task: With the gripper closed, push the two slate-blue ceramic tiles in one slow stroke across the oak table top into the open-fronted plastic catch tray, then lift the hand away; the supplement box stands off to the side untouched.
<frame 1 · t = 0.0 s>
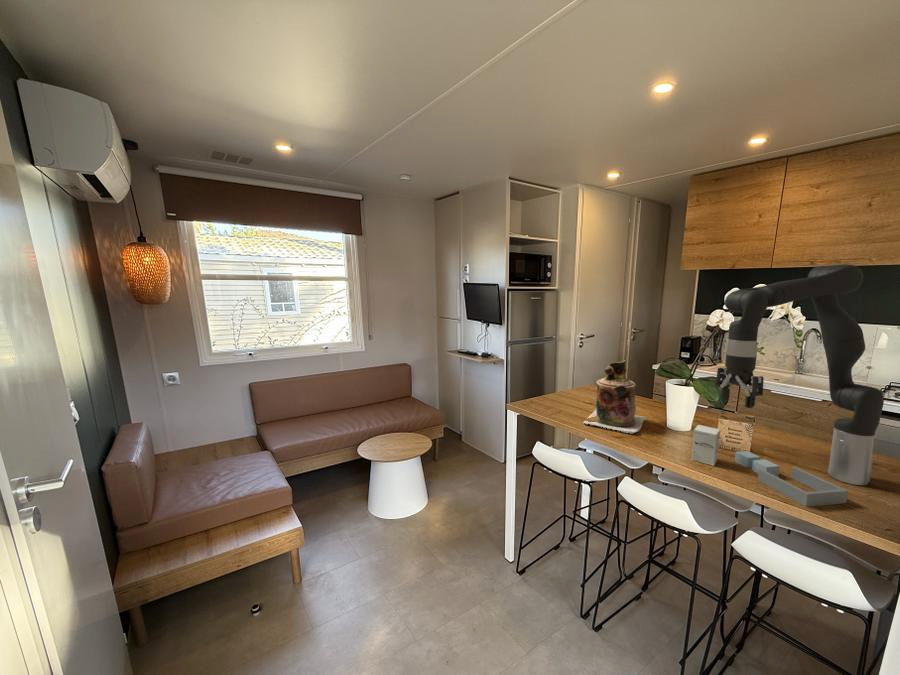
hand: (736, 403, 115), 29 cm above the breakfast bar, fingers open, 8 cm apart
tile 1: (746, 464, 135), on the breakfast bar
catch tray: (797, 490, 117), on the breakfast bar
supplement box: (704, 460, 138), on the breakfast bar
tile 2: (764, 473, 128), on the breakfast bar
cookie jar: (614, 423, 179), on the breakfast bar
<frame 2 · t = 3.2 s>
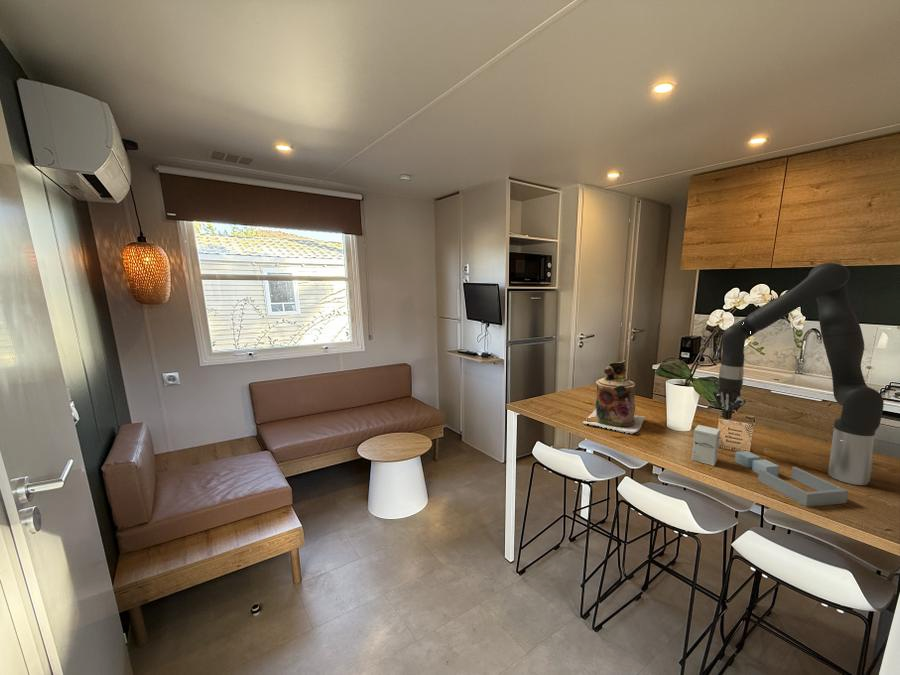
hand: (726, 418, 143), 14 cm above the breakfast bar, fingers closed
nothing on the breakfast bar moved.
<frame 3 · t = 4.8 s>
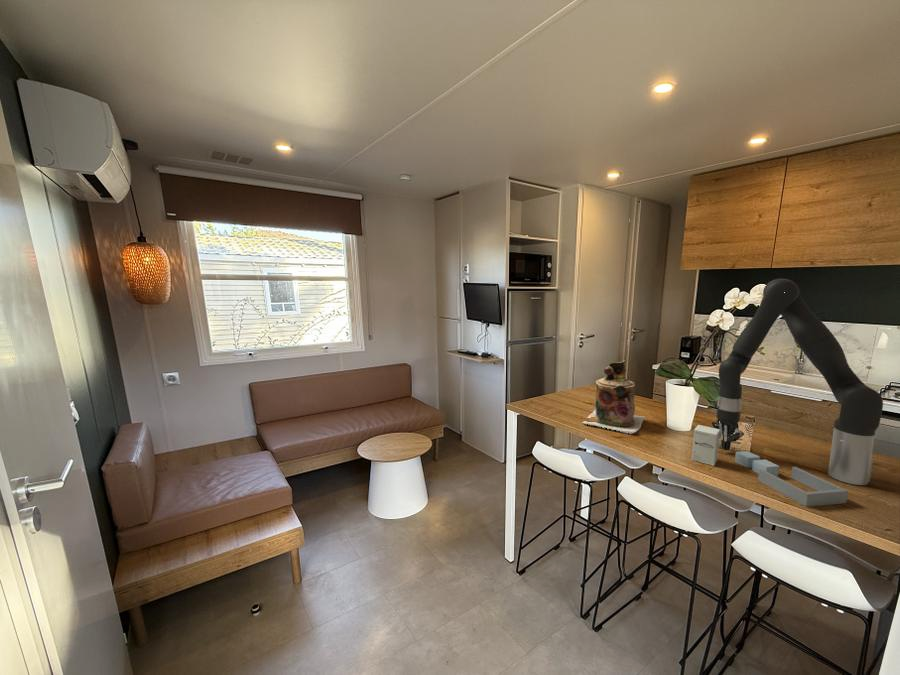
hand: (725, 449, 144), 1 cm above the breakfast bar, fingers closed
nothing on the breakfast bar moved.
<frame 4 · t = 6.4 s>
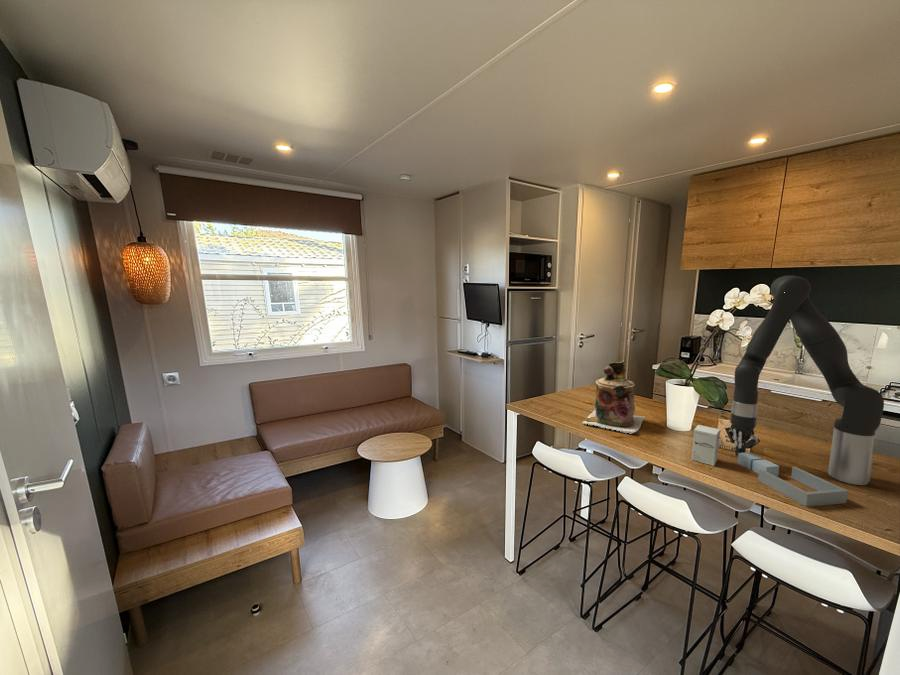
hand: (739, 456, 138), 1 cm above the breakfast bar, fingers closed
tile 1: (749, 465, 133), on the breakfast bar, touching gripper
everything else where it was.
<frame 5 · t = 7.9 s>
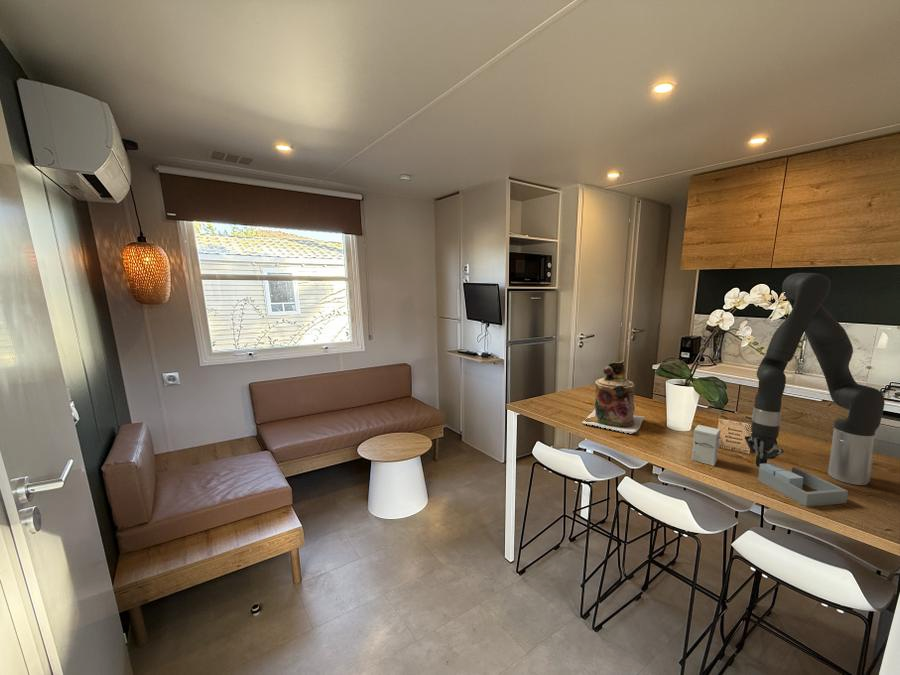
hand: (760, 467, 129), 2 cm above the breakfast bar, fingers closed
tile 1: (771, 477, 125), on the breakfast bar, touching gripper
tile 2: (787, 485, 120), on the breakfast bar
everything else where it was.
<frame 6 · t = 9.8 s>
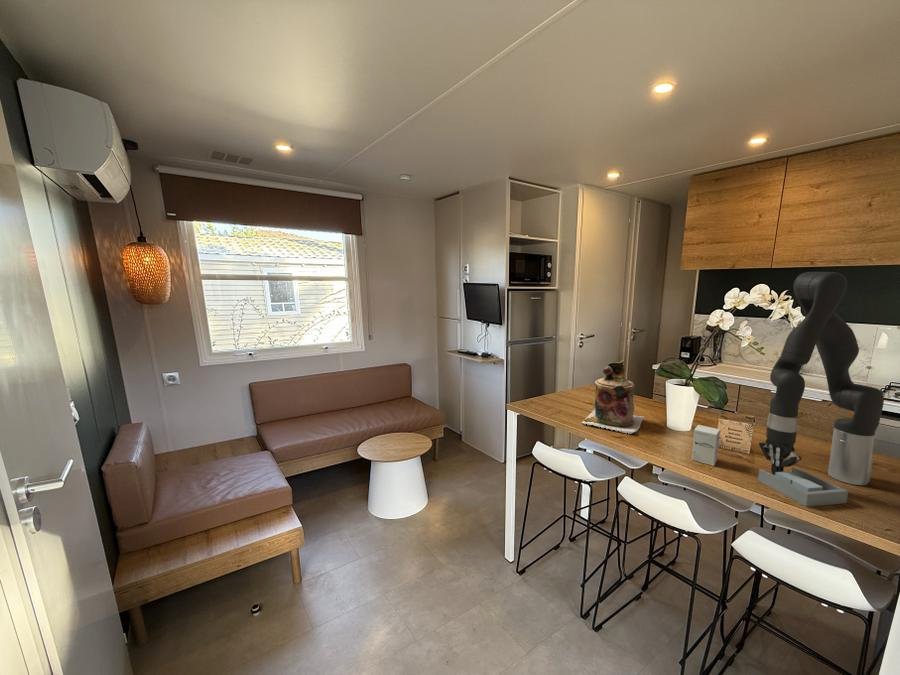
hand: (776, 474, 124), 2 cm above the breakfast bar, fingers closed
tile 1: (788, 486, 119), on the breakfast bar
tile 2: (805, 494, 115), on the breakfast bar
everything else where it was.
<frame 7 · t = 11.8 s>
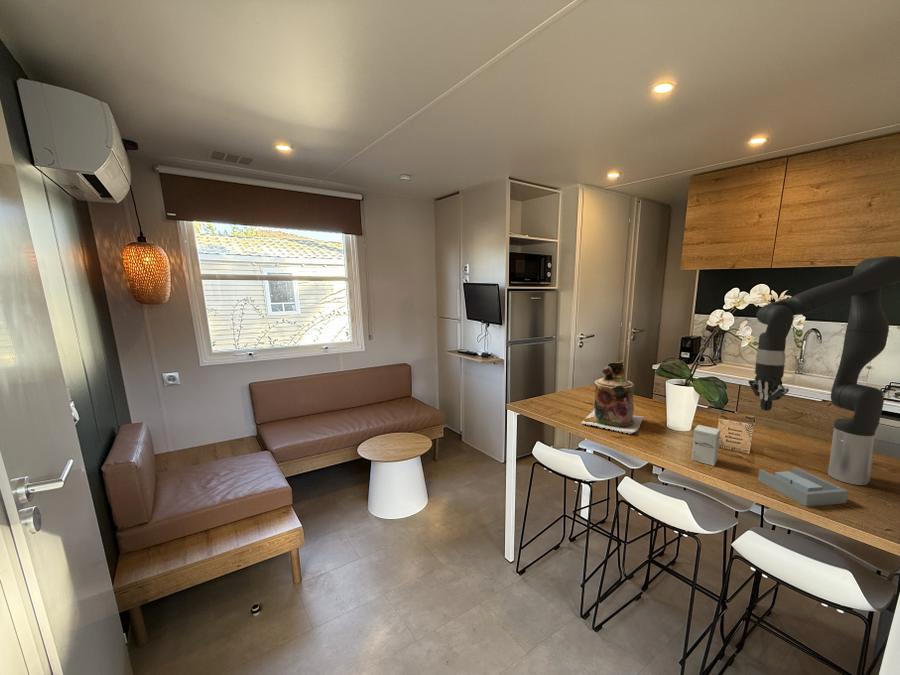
hand: (765, 409, 127), 23 cm above the breakfast bar, fingers closed
nothing on the breakfast bar moved.
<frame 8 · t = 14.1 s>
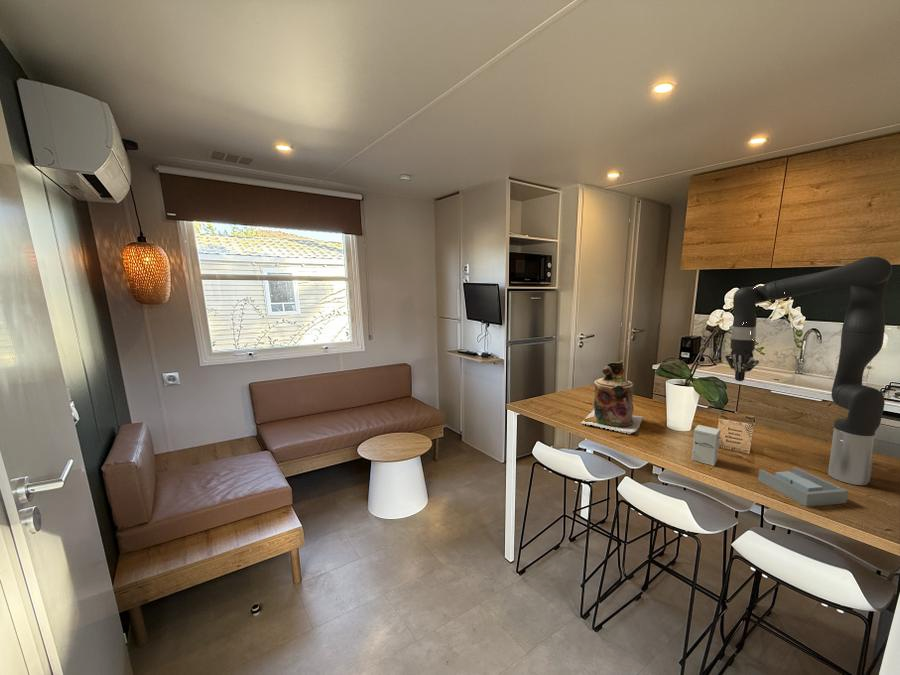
hand: (739, 380, 143), 29 cm above the breakfast bar, fingers closed
at the end: tile 1 inside the target area on the catch tray (3.5 cm from its centre), point 0.0 cm above the catch tray's base; tile 2 inside the target area on the catch tray (0.8 cm from its centre), point 0.0 cm above the catch tray's base; tile 1 moved 15.5 cm from its start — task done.
